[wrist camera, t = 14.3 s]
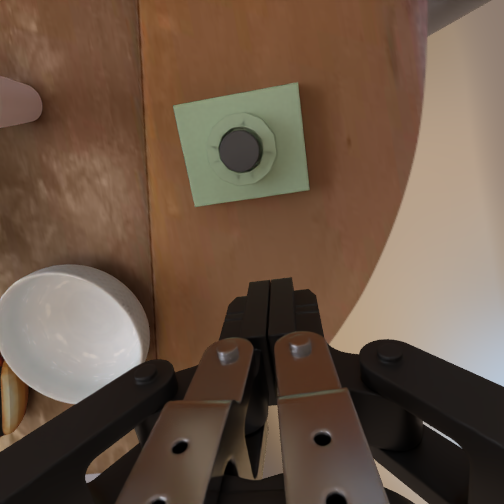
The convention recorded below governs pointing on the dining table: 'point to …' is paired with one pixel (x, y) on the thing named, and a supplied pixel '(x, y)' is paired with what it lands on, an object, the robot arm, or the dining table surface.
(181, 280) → the dining table surface
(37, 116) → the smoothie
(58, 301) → the cereal bowl
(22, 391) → the hot dog
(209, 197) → the block
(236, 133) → the button
